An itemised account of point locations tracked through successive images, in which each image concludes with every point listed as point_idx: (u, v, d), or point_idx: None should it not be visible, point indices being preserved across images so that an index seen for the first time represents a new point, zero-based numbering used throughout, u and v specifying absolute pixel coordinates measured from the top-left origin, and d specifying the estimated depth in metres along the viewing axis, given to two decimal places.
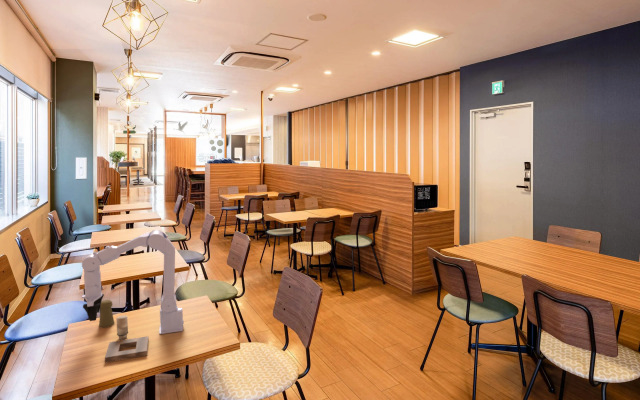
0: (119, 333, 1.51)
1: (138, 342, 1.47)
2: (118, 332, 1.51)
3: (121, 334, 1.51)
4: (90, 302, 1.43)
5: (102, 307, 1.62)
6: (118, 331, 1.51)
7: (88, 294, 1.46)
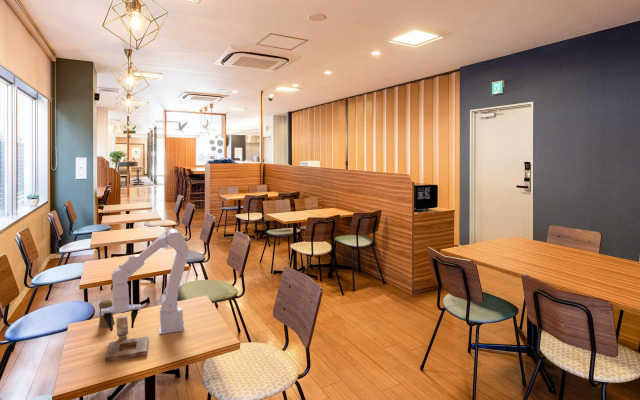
0: (119, 333, 1.51)
1: (138, 342, 1.47)
2: (118, 332, 1.51)
3: (121, 334, 1.51)
4: (101, 310, 1.49)
5: (102, 307, 1.62)
6: (118, 331, 1.51)
7: None
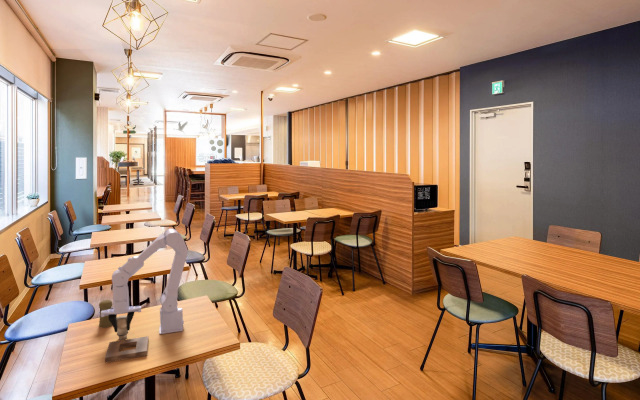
0: (119, 333, 1.51)
1: (138, 342, 1.47)
2: (118, 332, 1.51)
3: (121, 334, 1.51)
4: (101, 312, 1.49)
5: (102, 307, 1.62)
6: (118, 331, 1.51)
7: None
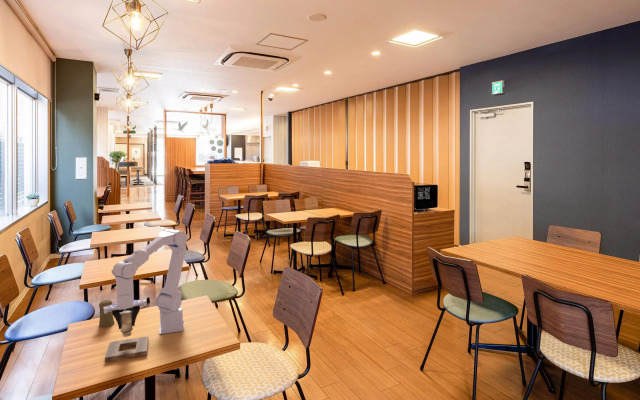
0: (124, 329, 1.41)
1: (138, 342, 1.47)
2: (123, 328, 1.41)
3: (126, 330, 1.41)
4: None
5: (102, 307, 1.62)
6: (123, 327, 1.41)
7: None
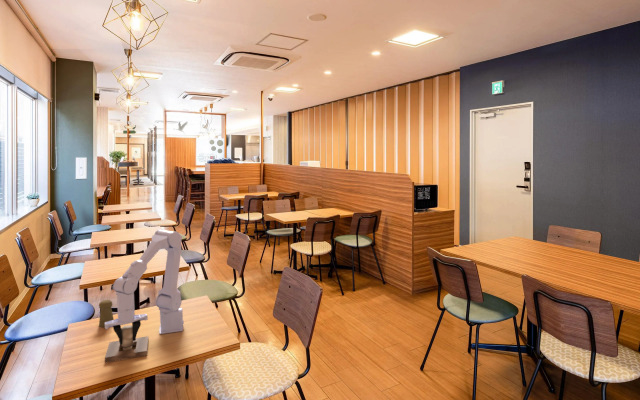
0: (125, 344, 1.41)
1: (138, 342, 1.47)
2: (124, 344, 1.41)
3: (127, 345, 1.42)
4: (105, 324, 1.38)
5: (102, 307, 1.62)
6: (124, 342, 1.41)
7: None
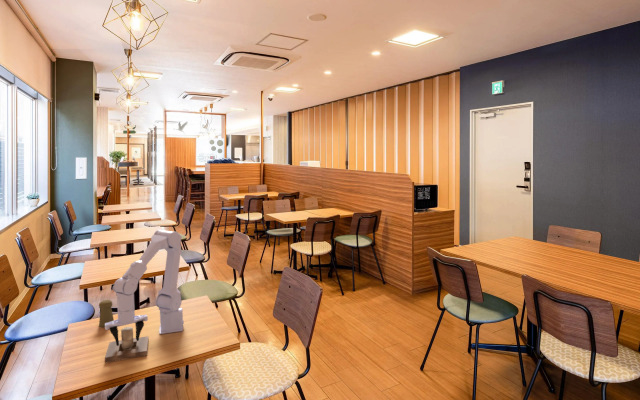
0: (125, 346, 1.41)
1: (138, 342, 1.47)
2: (124, 345, 1.41)
3: (128, 347, 1.42)
4: (105, 325, 1.38)
5: (102, 307, 1.62)
6: (124, 344, 1.41)
7: None
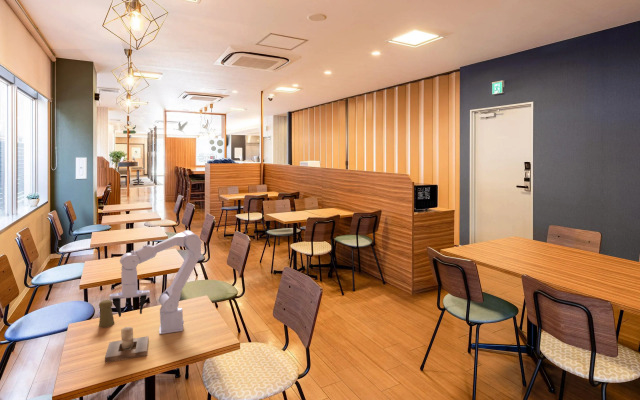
0: (125, 346, 1.41)
1: (138, 342, 1.47)
2: (124, 345, 1.41)
3: (128, 347, 1.42)
4: (109, 296, 1.49)
5: (102, 307, 1.62)
6: (124, 344, 1.41)
7: None
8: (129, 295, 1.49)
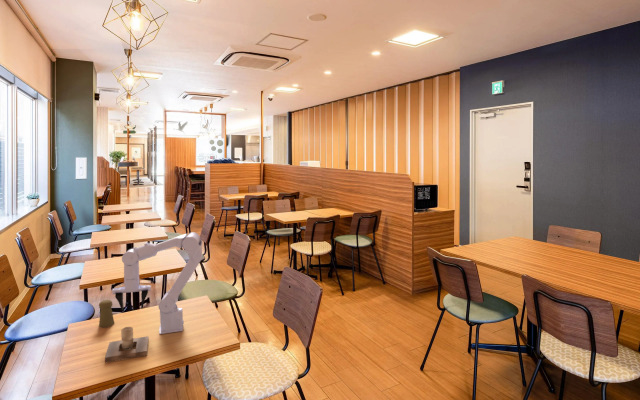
0: (125, 346, 1.41)
1: (138, 342, 1.47)
2: (124, 345, 1.41)
3: (128, 347, 1.42)
4: (112, 290, 1.54)
5: (102, 307, 1.62)
6: (124, 344, 1.41)
7: None
8: (131, 290, 1.55)
